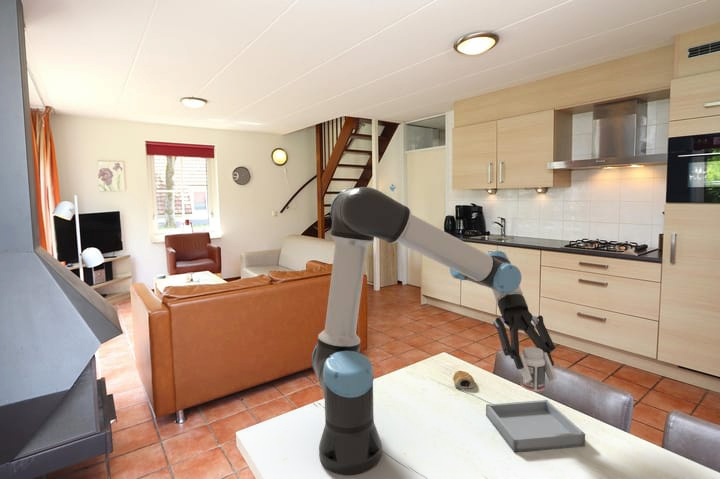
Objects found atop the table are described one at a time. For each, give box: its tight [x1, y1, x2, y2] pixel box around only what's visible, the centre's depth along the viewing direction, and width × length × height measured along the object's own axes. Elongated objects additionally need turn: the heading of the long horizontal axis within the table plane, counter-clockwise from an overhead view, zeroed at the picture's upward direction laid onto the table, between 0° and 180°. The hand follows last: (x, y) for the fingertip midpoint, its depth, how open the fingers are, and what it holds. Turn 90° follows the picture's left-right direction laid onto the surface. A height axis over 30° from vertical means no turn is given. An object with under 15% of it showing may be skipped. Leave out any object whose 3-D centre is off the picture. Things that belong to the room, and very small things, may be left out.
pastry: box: [452, 370, 476, 390], centre depth 126 cm, size 9×7×4 cm
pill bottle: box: [520, 346, 546, 393], centre depth 98 cm, size 6×6×10 cm
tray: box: [485, 399, 586, 454], centre depth 100 cm, size 18×16×3 cm
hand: (540, 380), depth 95 cm, fingers closed on pill bottle, 6 cm apart
